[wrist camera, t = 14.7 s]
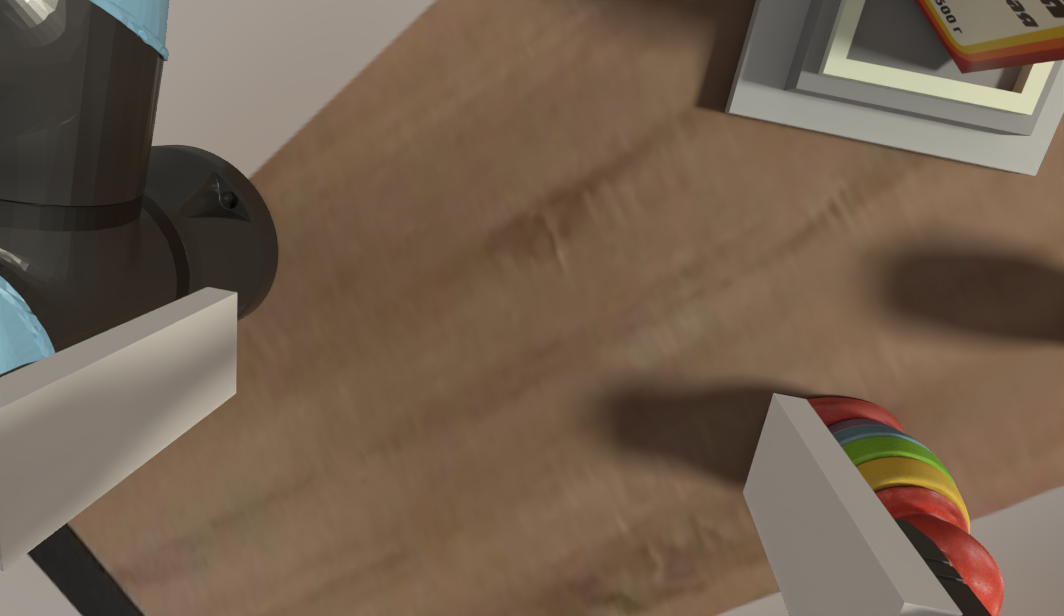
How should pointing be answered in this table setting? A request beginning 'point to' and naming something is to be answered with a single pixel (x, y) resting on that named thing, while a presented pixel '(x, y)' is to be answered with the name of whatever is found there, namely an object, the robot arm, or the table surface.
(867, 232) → the table surface
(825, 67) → the plinth
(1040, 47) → the baking soda box
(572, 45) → the table surface
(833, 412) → the stacking bear
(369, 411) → the table surface
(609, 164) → the table surface
